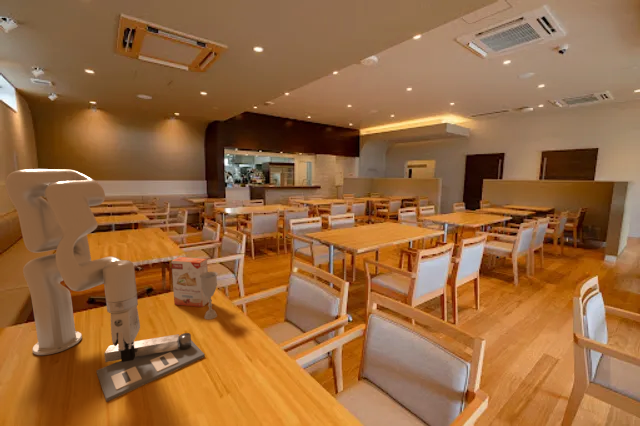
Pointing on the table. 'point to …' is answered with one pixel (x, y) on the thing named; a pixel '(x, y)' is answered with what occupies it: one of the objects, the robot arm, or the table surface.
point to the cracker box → (189, 281)
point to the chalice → (209, 290)
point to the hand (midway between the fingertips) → (128, 359)
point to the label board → (144, 370)
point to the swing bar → (152, 346)
